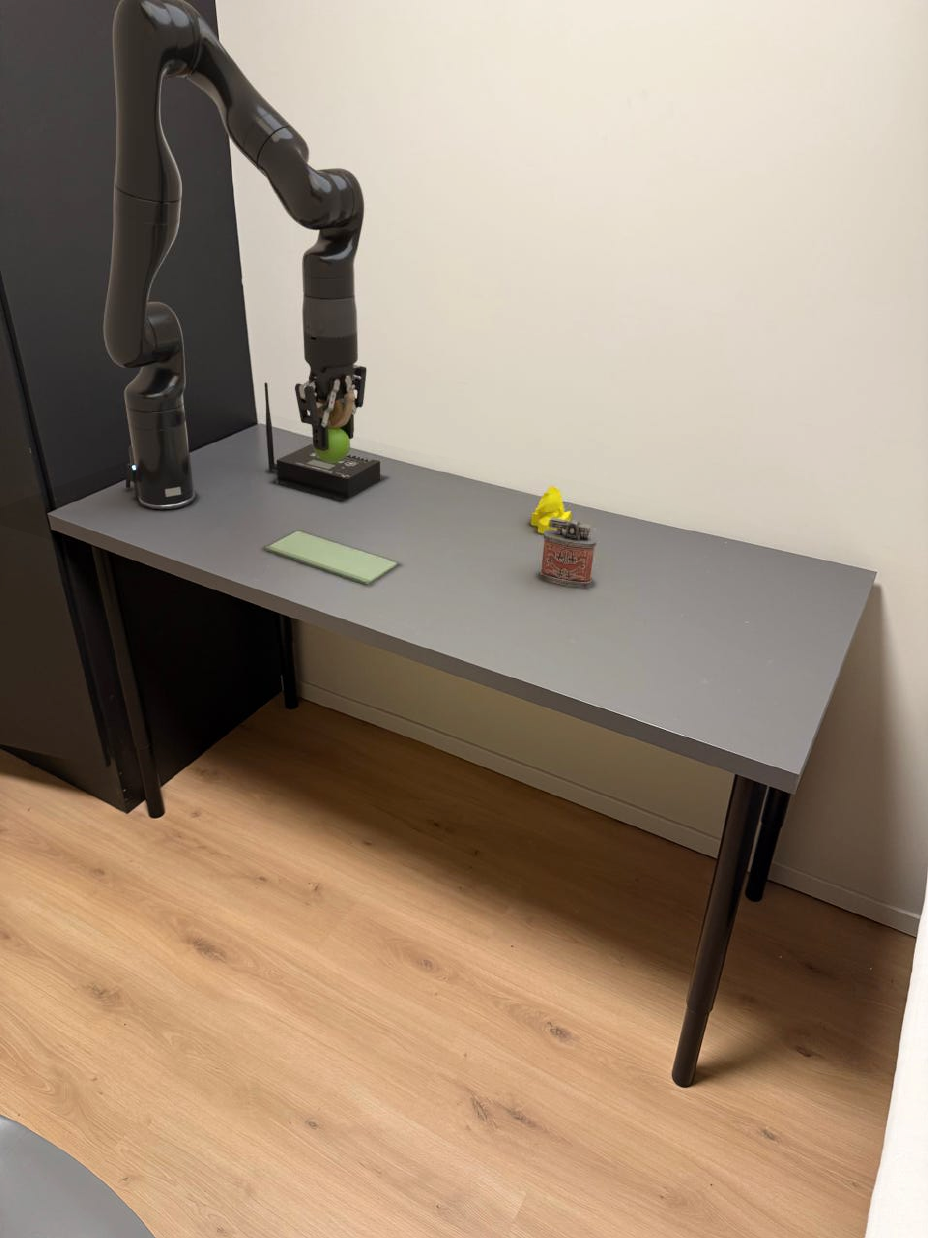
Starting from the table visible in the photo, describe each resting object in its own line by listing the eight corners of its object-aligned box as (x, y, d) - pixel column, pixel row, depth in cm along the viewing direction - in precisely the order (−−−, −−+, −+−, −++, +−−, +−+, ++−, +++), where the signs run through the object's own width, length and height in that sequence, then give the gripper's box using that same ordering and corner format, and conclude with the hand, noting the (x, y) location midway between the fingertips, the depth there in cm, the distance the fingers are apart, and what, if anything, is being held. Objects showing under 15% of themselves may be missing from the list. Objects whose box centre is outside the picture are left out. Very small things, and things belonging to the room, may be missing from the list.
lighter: (593, 580, 143) (600, 521, 138) (588, 589, 140) (595, 530, 135) (542, 570, 145) (548, 512, 140) (537, 579, 142) (542, 520, 137)
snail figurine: (350, 470, 136) (348, 390, 130) (309, 466, 137) (305, 386, 131) (361, 458, 140) (359, 380, 134) (321, 453, 141) (317, 375, 135)
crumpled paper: (574, 520, 162) (578, 478, 158) (558, 537, 156) (562, 494, 152) (543, 512, 164) (547, 471, 160) (526, 529, 158) (529, 487, 154)
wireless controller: (385, 477, 175) (385, 388, 166) (342, 502, 164) (339, 408, 156) (300, 455, 183) (296, 369, 174) (254, 477, 172) (247, 387, 164)
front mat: (265, 550, 147) (265, 547, 147) (297, 532, 153) (297, 529, 153) (366, 584, 138) (366, 581, 138) (397, 565, 144) (397, 562, 144)
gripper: (340, 314, 135) (343, 426, 144) (275, 332, 124) (282, 452, 133) (382, 322, 132) (382, 435, 141) (319, 342, 121) (323, 463, 130)
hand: (333, 443), depth 137 cm, fingers closed on snail figurine, 5 cm apart
